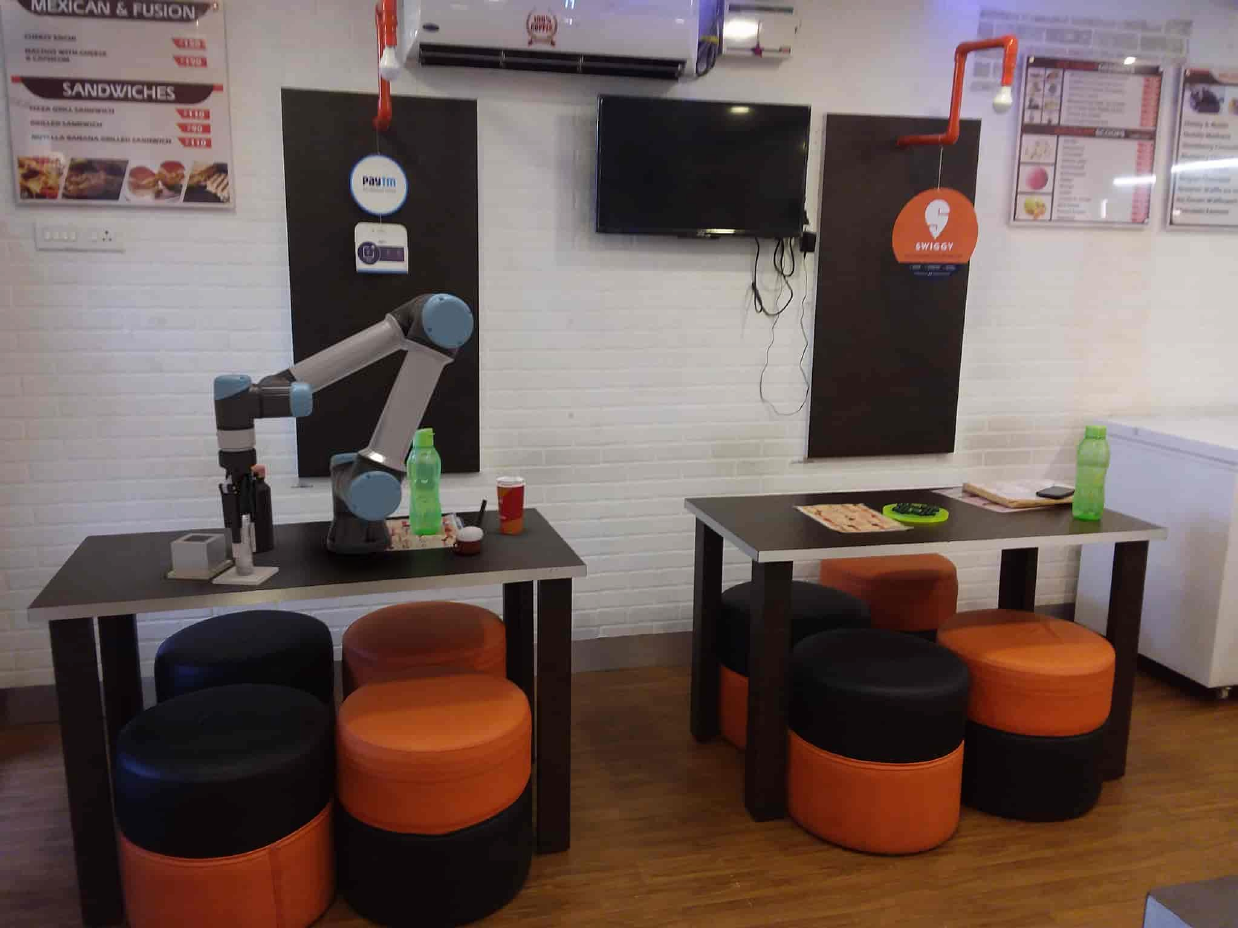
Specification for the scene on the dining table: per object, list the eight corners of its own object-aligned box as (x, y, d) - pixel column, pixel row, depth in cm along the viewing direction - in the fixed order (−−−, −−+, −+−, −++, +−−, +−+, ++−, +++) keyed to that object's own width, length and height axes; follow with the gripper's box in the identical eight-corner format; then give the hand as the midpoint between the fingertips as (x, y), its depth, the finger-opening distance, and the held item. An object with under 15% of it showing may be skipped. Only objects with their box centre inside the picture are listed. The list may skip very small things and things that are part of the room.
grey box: (241, 558, 219) (239, 527, 218) (207, 579, 204) (204, 546, 202) (204, 557, 220) (201, 526, 218) (167, 578, 205) (164, 544, 203)
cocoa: (455, 559, 221) (451, 510, 218) (449, 550, 227) (446, 503, 224) (494, 553, 225) (491, 505, 222) (488, 545, 230) (485, 498, 227)
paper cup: (500, 527, 248) (499, 475, 245) (529, 528, 247) (528, 476, 244) (492, 535, 240) (491, 481, 238) (522, 536, 239) (521, 482, 237)
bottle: (274, 551, 225) (269, 469, 221) (244, 554, 223) (237, 471, 219) (274, 543, 231) (269, 464, 227) (244, 546, 229) (238, 465, 225)
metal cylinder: (235, 570, 206) (231, 513, 204) (253, 568, 208) (249, 511, 205) (236, 575, 203) (232, 517, 201) (254, 573, 205) (250, 515, 202)
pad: (278, 570, 210) (278, 567, 210) (257, 585, 200) (257, 581, 200) (235, 569, 211) (235, 565, 211) (212, 583, 201) (212, 579, 201)
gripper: (238, 440, 209) (246, 542, 213) (199, 454, 192) (208, 564, 197) (271, 441, 208) (278, 544, 213) (235, 455, 192) (243, 566, 196)
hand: (244, 553), depth 205 cm, fingers closed on metal cylinder, 3 cm apart
